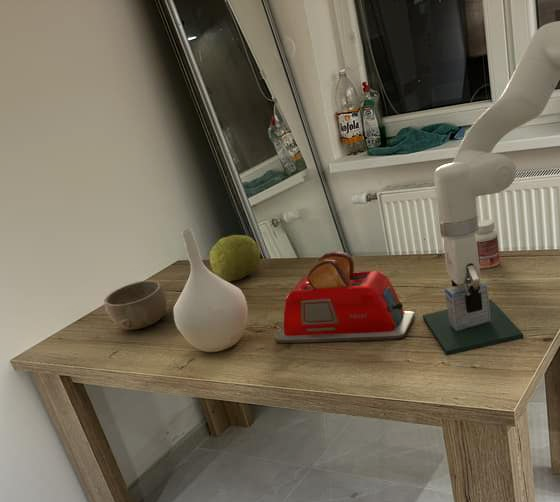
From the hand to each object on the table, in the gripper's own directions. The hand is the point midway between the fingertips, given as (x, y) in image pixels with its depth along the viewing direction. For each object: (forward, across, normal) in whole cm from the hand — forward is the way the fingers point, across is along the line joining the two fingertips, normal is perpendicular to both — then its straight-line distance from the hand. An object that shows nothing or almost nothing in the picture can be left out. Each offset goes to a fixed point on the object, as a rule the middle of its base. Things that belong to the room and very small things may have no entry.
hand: (467, 302), depth 146 cm
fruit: (+6, -72, -52) cm, 88 cm away
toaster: (+6, -14, -26) cm, 30 cm away
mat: (+6, 0, 0) cm, 6 cm away
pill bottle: (+6, -34, +15) cm, 38 cm away
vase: (+6, -23, -57) cm, 62 cm away
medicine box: (+5, 0, 0) cm, 5 cm away
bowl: (+6, -51, -81) cm, 96 cm away
